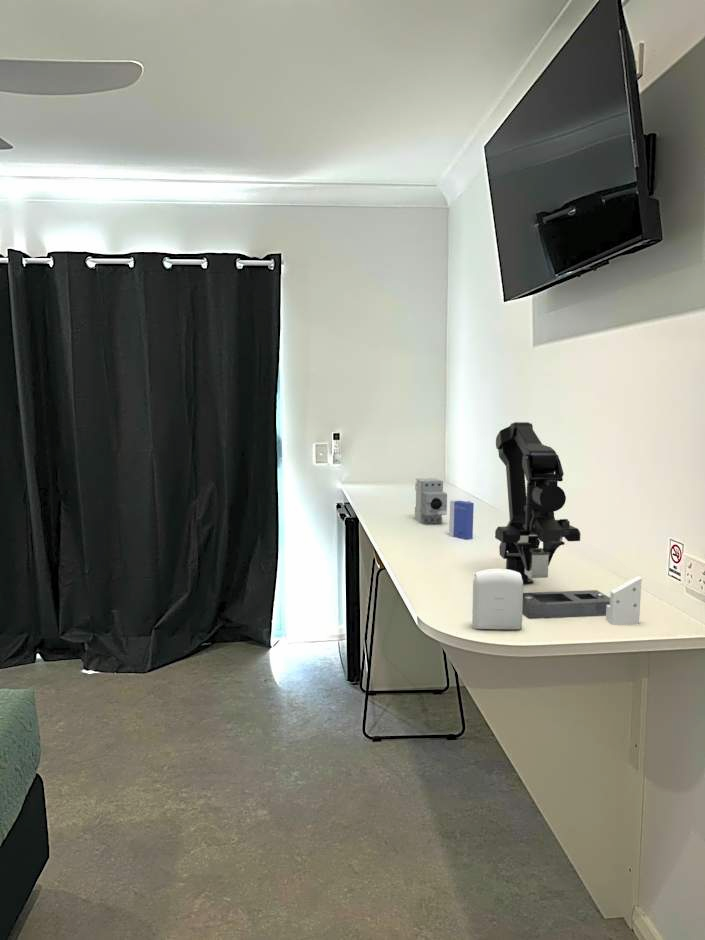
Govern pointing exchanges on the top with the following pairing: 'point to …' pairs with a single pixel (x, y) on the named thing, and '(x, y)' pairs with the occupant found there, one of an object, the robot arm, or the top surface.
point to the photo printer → (497, 599)
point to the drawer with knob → (538, 563)
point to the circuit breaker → (430, 501)
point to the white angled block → (625, 603)
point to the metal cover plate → (564, 604)
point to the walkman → (461, 519)
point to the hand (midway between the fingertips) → (536, 570)
